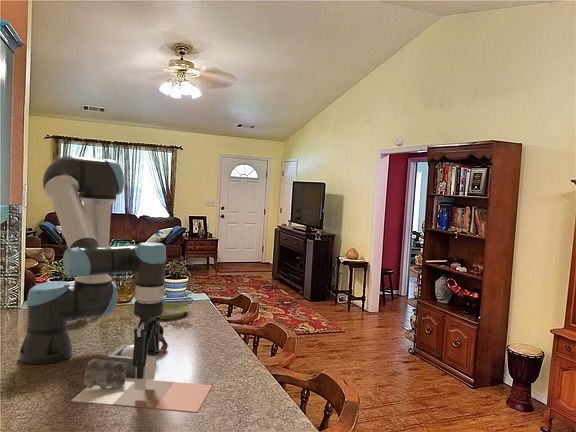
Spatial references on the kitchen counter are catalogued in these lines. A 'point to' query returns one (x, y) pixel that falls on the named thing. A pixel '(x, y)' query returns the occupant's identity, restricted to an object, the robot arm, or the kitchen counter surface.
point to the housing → (123, 360)
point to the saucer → (173, 306)
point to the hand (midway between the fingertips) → (145, 383)
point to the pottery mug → (162, 339)
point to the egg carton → (105, 373)
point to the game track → (149, 395)
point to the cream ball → (128, 351)
